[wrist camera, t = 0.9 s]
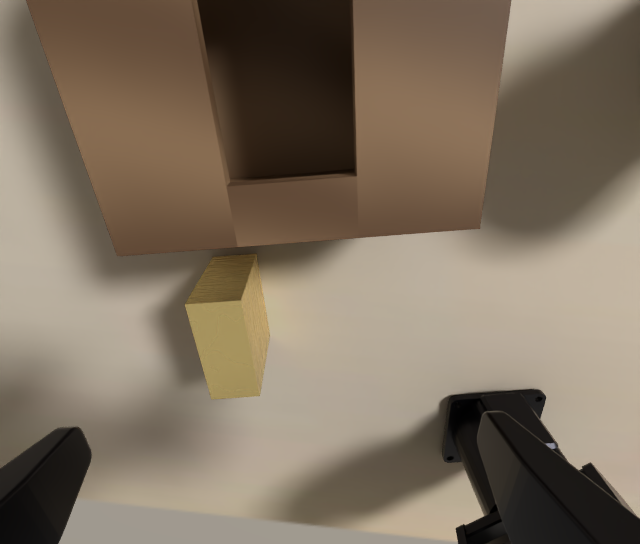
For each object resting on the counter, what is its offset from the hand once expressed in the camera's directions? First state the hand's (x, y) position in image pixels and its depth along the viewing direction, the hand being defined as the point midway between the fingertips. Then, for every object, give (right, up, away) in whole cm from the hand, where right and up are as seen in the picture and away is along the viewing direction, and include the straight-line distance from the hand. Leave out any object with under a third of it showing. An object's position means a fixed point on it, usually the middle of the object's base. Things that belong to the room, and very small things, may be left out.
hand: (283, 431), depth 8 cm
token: (-4, +2, +13) cm, 13 cm away
